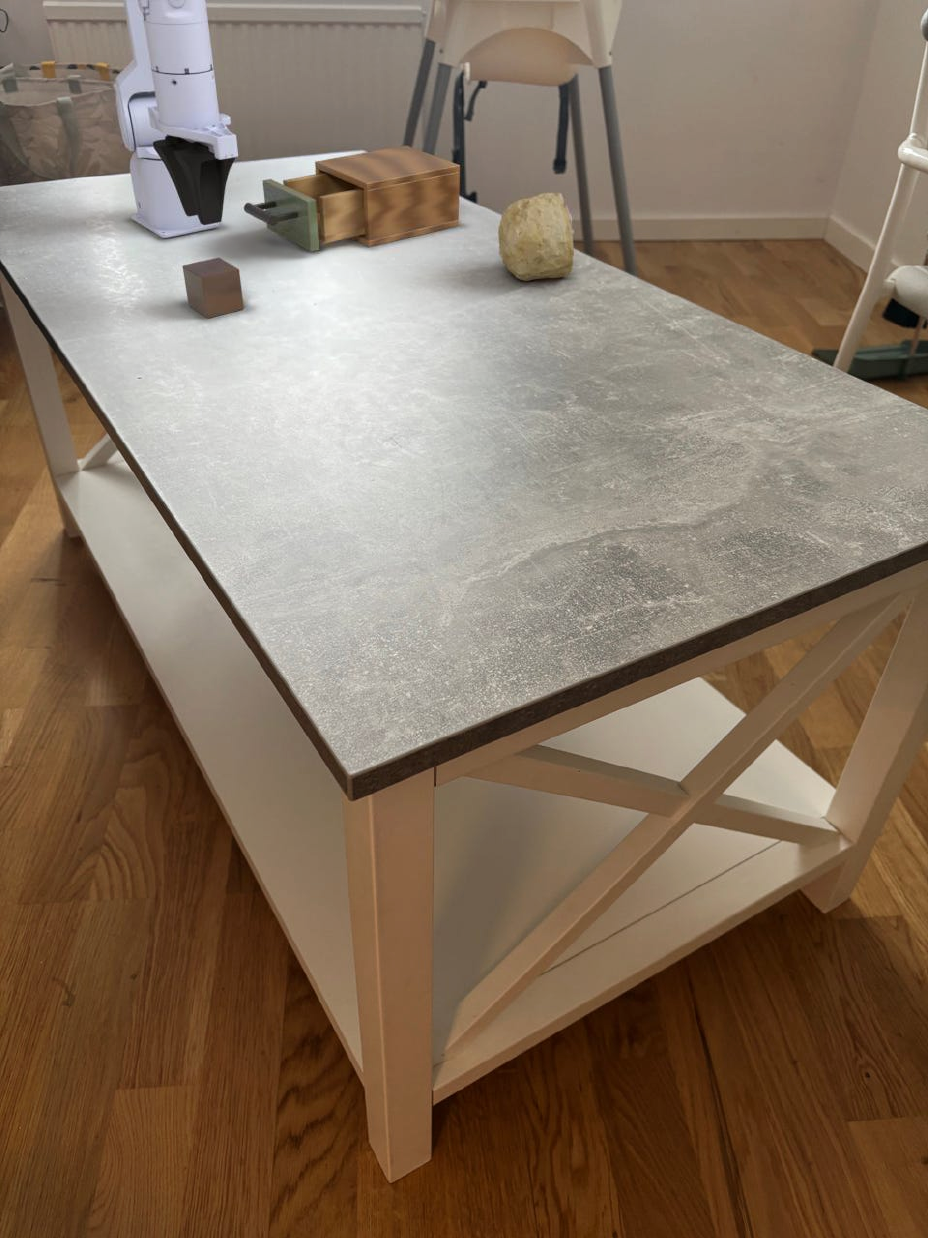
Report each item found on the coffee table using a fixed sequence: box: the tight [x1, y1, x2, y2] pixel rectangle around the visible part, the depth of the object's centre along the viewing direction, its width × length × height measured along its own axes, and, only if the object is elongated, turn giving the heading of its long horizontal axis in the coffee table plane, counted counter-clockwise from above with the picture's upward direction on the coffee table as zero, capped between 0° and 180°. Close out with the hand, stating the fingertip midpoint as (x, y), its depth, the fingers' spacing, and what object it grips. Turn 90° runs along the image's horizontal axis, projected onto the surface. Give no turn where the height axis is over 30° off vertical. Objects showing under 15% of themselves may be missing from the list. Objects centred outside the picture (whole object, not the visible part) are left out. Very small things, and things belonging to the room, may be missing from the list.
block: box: [182, 257, 245, 319], centre depth 103 cm, size 4×4×4 cm
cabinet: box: [314, 145, 461, 248], centre depth 125 cm, size 15×12×8 cm
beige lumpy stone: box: [497, 192, 575, 282], centre depth 112 cm, size 10×10×10 cm
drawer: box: [243, 172, 365, 252], centre depth 120 cm, size 18×10×6 cm, turn 129°
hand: (203, 218), depth 99 cm, fingers open, 3 cm apart
